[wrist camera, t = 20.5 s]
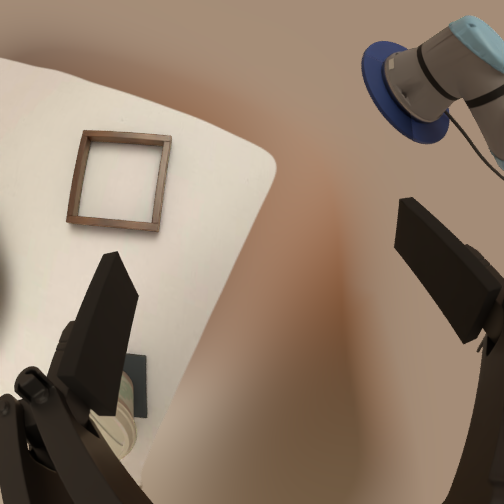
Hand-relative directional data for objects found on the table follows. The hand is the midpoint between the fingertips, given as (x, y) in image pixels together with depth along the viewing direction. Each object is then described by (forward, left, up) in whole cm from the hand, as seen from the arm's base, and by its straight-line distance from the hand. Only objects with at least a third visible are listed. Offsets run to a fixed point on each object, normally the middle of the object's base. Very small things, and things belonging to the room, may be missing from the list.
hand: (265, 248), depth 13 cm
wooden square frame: (+12, -7, -24) cm, 27 cm away
